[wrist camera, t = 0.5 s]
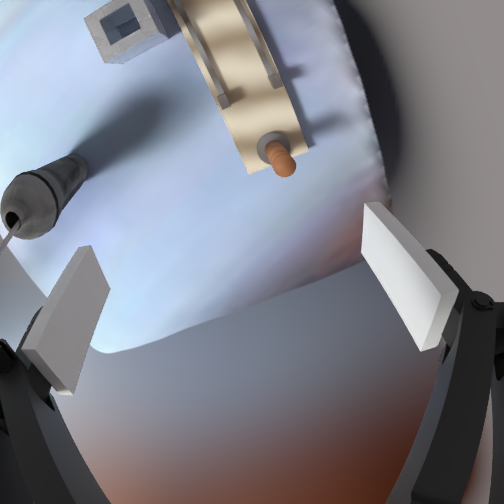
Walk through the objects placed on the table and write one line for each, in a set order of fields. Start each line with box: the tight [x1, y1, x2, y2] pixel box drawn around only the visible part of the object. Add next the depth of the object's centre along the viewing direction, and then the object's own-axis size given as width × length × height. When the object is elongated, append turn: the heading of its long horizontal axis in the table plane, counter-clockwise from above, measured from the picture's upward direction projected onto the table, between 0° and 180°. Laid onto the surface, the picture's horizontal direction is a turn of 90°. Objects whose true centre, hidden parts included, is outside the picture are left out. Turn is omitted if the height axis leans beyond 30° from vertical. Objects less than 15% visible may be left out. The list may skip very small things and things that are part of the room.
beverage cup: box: [0, 154, 88, 254], centre depth 27 cm, size 7×7×20 cm
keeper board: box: [167, 0, 309, 177], centre depth 25 cm, size 34×8×9 cm, turn 22°
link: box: [84, 0, 169, 64], centre depth 25 cm, size 6×6×6 cm
